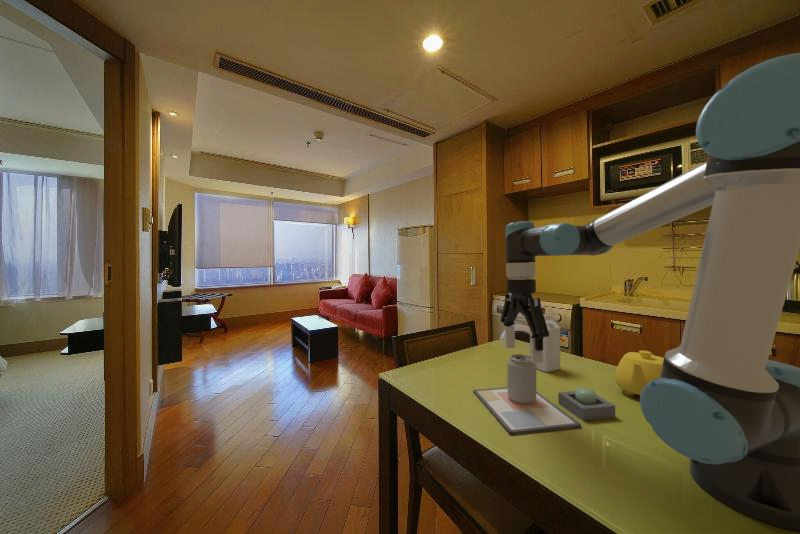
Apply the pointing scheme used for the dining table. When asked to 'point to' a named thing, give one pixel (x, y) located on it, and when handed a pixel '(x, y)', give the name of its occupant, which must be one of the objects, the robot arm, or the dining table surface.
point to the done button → (585, 396)
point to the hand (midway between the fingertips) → (522, 354)
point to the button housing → (586, 407)
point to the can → (521, 379)
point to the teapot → (637, 371)
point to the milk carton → (550, 347)
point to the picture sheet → (524, 412)
